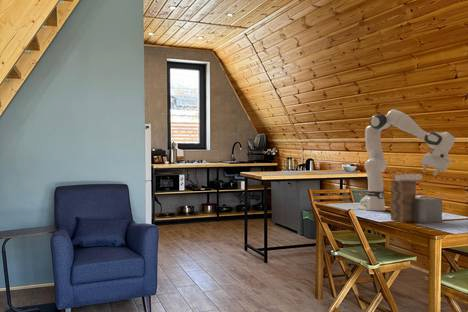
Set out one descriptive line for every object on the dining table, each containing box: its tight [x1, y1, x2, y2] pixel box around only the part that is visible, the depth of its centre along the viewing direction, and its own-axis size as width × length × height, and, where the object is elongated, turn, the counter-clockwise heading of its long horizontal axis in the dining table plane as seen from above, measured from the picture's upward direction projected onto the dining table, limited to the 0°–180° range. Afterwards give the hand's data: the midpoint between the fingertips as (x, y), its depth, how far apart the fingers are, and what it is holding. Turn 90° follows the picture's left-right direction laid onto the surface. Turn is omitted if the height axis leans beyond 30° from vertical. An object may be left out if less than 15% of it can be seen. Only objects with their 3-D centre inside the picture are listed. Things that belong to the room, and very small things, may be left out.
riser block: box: [412, 196, 443, 225], centre depth 279 cm, size 10×14×15 cm
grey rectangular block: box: [394, 173, 423, 181], centre depth 287 cm, size 4×20×4 cm, turn 115°
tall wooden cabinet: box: [389, 179, 417, 223], centre depth 286 cm, size 11×12×26 cm
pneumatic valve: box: [416, 194, 427, 198], centre depth 327 cm, size 6×12×12 cm, turn 9°
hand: (428, 173), depth 298 cm, fingers open, 8 cm apart
